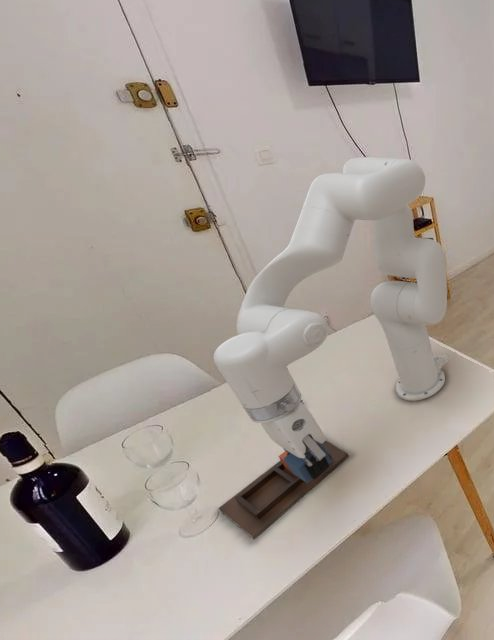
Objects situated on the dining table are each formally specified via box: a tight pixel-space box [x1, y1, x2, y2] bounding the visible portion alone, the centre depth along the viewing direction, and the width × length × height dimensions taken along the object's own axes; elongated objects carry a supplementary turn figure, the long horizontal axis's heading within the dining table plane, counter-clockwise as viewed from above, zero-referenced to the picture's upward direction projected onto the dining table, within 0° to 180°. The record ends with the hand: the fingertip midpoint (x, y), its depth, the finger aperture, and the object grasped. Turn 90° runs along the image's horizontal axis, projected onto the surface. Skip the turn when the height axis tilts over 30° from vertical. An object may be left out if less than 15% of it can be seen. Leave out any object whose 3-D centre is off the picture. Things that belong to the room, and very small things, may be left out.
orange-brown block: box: [278, 450, 297, 477], centre depth 87 cm, size 5×5×4 cm
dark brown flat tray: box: [218, 440, 350, 540], centre depth 86 cm, size 20×12×2 cm, turn 152°
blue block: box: [283, 442, 332, 483], centre depth 77 cm, size 5×5×4 cm
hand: (312, 466), depth 78 cm, fingers closed on blue block, 4 cm apart
